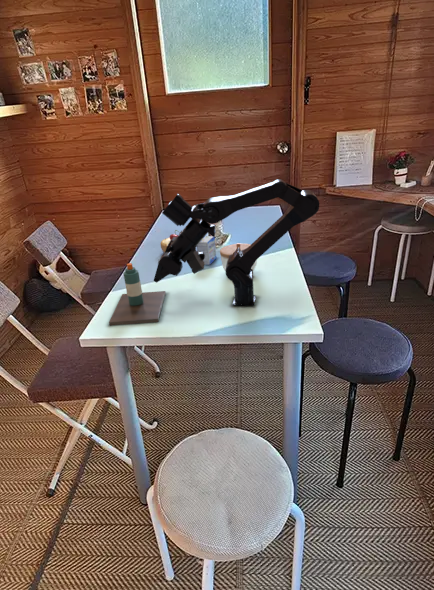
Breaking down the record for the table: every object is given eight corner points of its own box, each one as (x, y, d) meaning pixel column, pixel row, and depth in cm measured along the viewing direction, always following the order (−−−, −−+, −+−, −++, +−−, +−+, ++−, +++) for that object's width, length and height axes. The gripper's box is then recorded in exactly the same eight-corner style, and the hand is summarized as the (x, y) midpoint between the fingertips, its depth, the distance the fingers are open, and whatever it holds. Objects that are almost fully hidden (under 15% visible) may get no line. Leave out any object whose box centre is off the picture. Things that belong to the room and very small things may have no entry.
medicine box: (209, 265, 161) (207, 242, 157) (198, 264, 162) (196, 242, 158) (216, 258, 167) (214, 236, 163) (205, 257, 169) (203, 235, 165)
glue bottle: (144, 304, 132) (137, 265, 126) (129, 306, 131) (121, 267, 125) (143, 298, 136) (136, 260, 130) (128, 301, 135) (121, 262, 129)
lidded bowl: (249, 265, 157) (247, 235, 152) (264, 276, 147) (263, 244, 141) (216, 272, 154) (214, 242, 148) (230, 284, 143) (227, 252, 138)
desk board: (158, 322, 123) (157, 318, 123) (109, 325, 124) (108, 322, 123) (165, 293, 141) (165, 290, 140) (122, 296, 141) (122, 294, 141)
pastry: (157, 257, 174) (153, 235, 170) (169, 247, 184) (166, 226, 179) (184, 258, 170) (181, 235, 166) (195, 248, 180) (193, 227, 176)
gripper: (209, 266, 116) (174, 305, 123) (215, 244, 132) (183, 280, 139) (177, 239, 113) (142, 281, 120) (186, 220, 129) (155, 258, 136)
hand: (158, 275), depth 129 cm, fingers open, 9 cm apart
